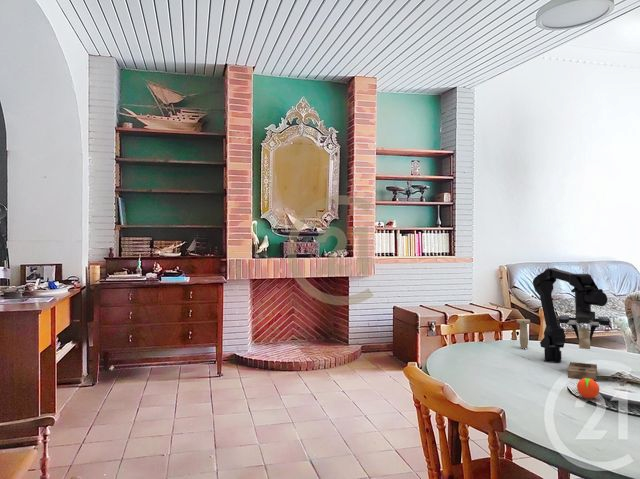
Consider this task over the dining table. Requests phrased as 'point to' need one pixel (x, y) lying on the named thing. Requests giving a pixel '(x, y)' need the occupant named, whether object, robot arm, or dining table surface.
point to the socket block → (582, 370)
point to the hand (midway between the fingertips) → (584, 340)
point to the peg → (584, 338)
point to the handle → (523, 332)
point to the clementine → (588, 388)
